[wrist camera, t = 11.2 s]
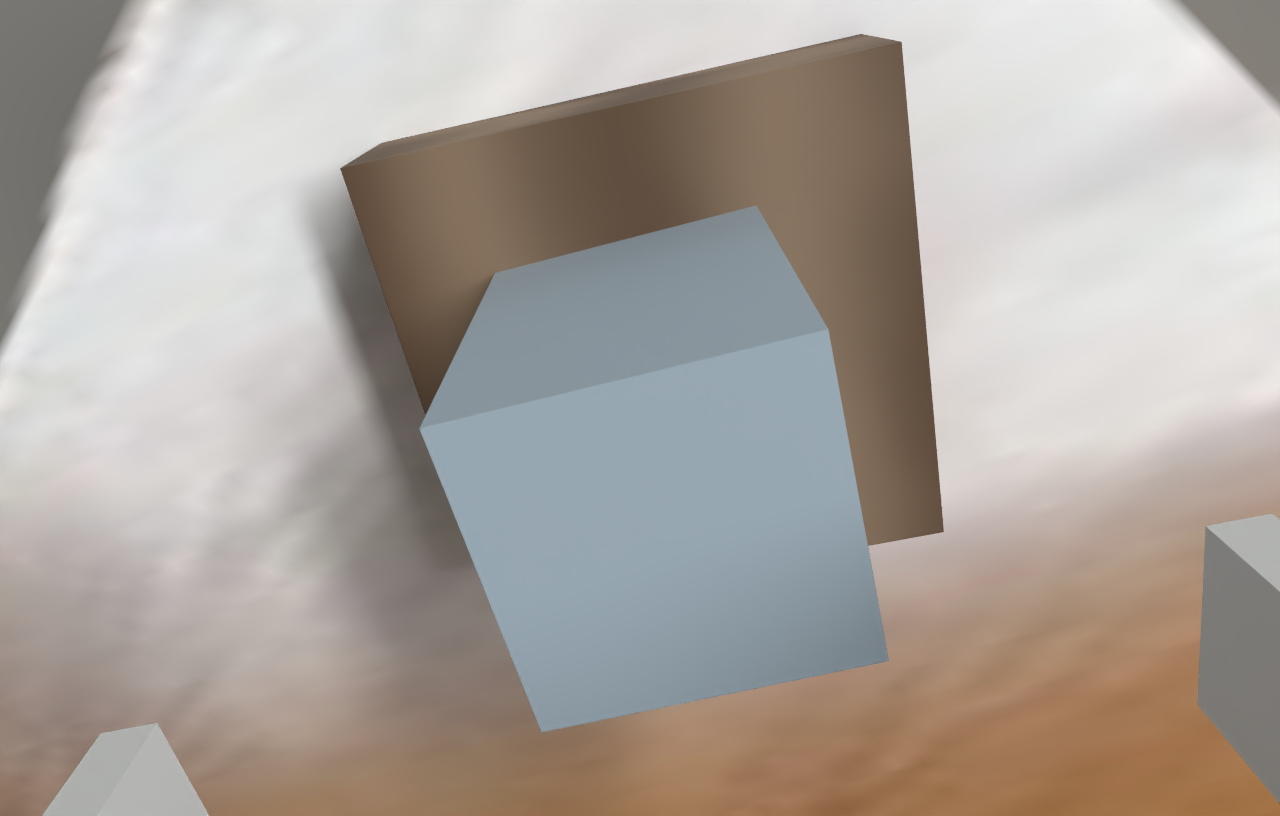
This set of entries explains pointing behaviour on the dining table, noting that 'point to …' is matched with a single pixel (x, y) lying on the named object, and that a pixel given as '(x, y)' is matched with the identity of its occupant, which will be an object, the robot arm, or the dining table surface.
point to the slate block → (657, 474)
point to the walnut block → (682, 193)
